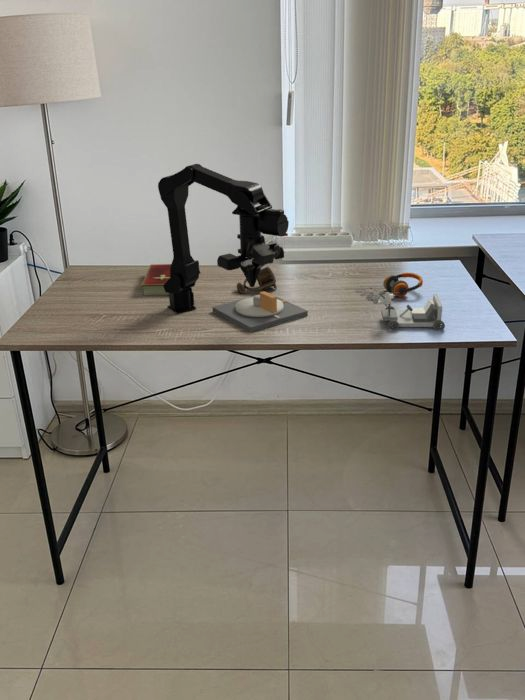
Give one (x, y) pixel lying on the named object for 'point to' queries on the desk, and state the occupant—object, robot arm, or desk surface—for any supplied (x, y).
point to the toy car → (412, 314)
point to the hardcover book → (156, 279)
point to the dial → (260, 305)
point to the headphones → (396, 285)
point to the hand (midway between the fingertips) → (252, 286)
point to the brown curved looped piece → (260, 281)
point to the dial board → (259, 323)
